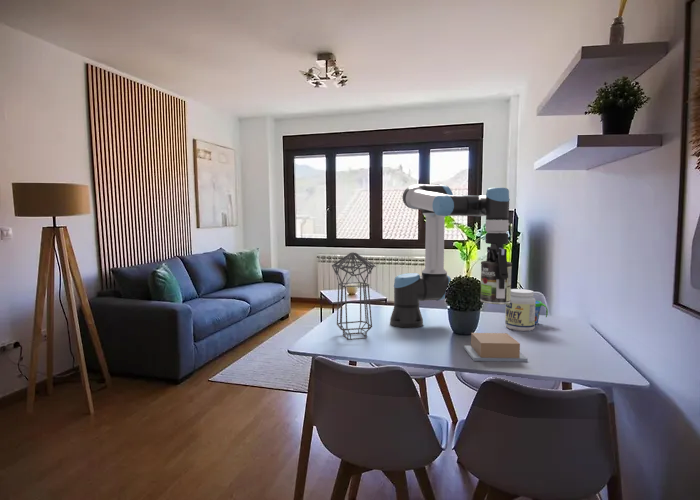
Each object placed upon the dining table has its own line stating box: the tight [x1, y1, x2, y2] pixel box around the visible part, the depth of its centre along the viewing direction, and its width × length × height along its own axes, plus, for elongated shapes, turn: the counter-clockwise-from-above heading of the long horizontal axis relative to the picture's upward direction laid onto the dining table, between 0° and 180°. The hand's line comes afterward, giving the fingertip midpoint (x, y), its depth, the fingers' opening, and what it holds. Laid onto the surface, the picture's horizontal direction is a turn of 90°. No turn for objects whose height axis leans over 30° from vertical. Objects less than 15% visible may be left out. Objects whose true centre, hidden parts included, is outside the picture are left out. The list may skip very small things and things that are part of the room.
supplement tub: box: [504, 288, 537, 332], centre depth 180 cm, size 12×12×17 cm
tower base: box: [463, 332, 528, 363], centre depth 144 cm, size 18×14×6 cm
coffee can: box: [479, 260, 513, 305], centre depth 142 cm, size 10×10×14 cm
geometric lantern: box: [331, 252, 377, 341], centre depth 167 cm, size 16×16×35 cm
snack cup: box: [535, 299, 549, 325], centre depth 190 cm, size 16×10×10 cm
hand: (495, 295), depth 142 cm, fingers closed on coffee can, 10 cm apart
